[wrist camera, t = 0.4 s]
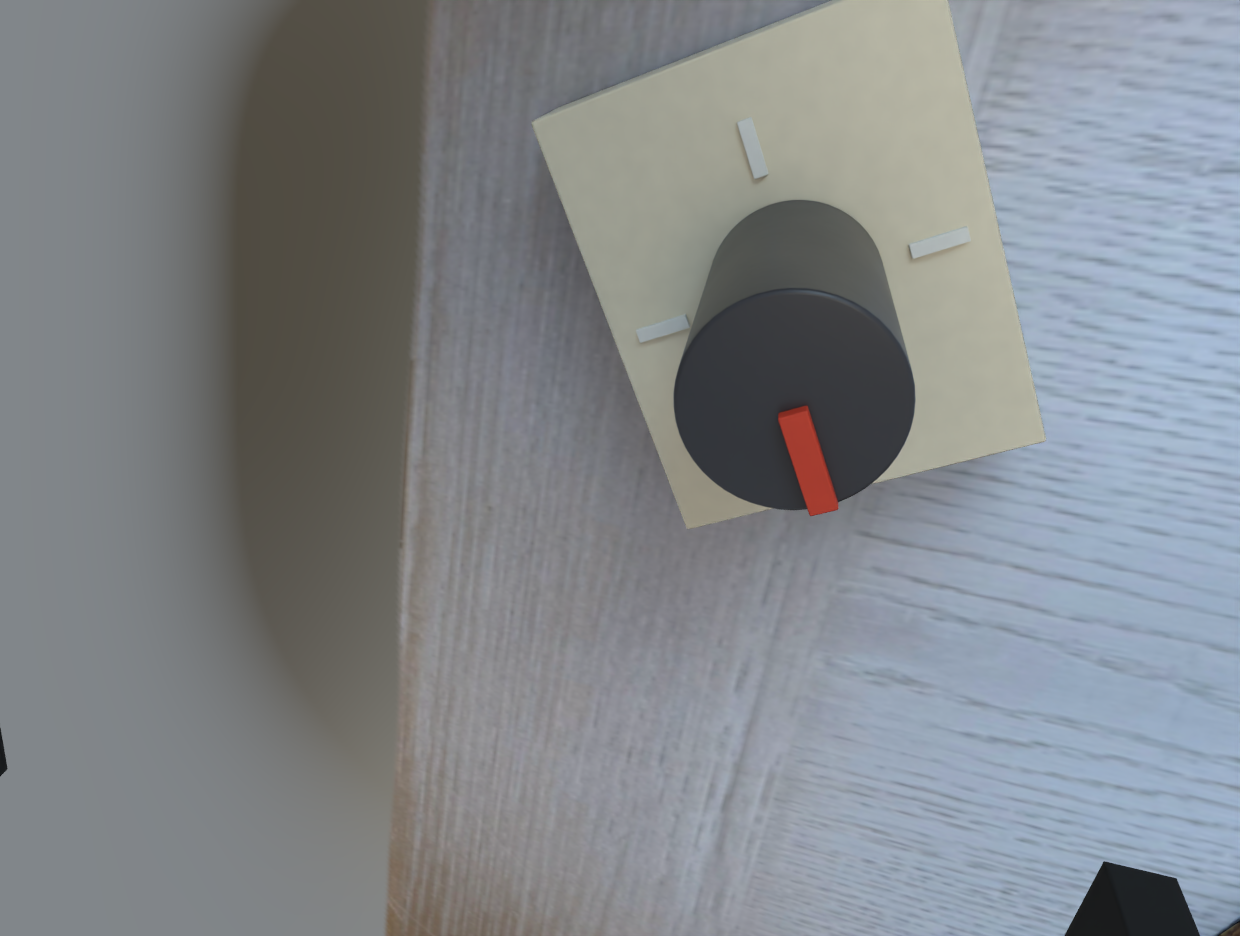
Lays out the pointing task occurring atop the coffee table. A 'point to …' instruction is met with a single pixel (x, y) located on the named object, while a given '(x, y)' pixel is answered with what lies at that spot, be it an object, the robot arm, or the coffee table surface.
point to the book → (1232, 931)
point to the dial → (795, 362)
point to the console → (803, 170)
